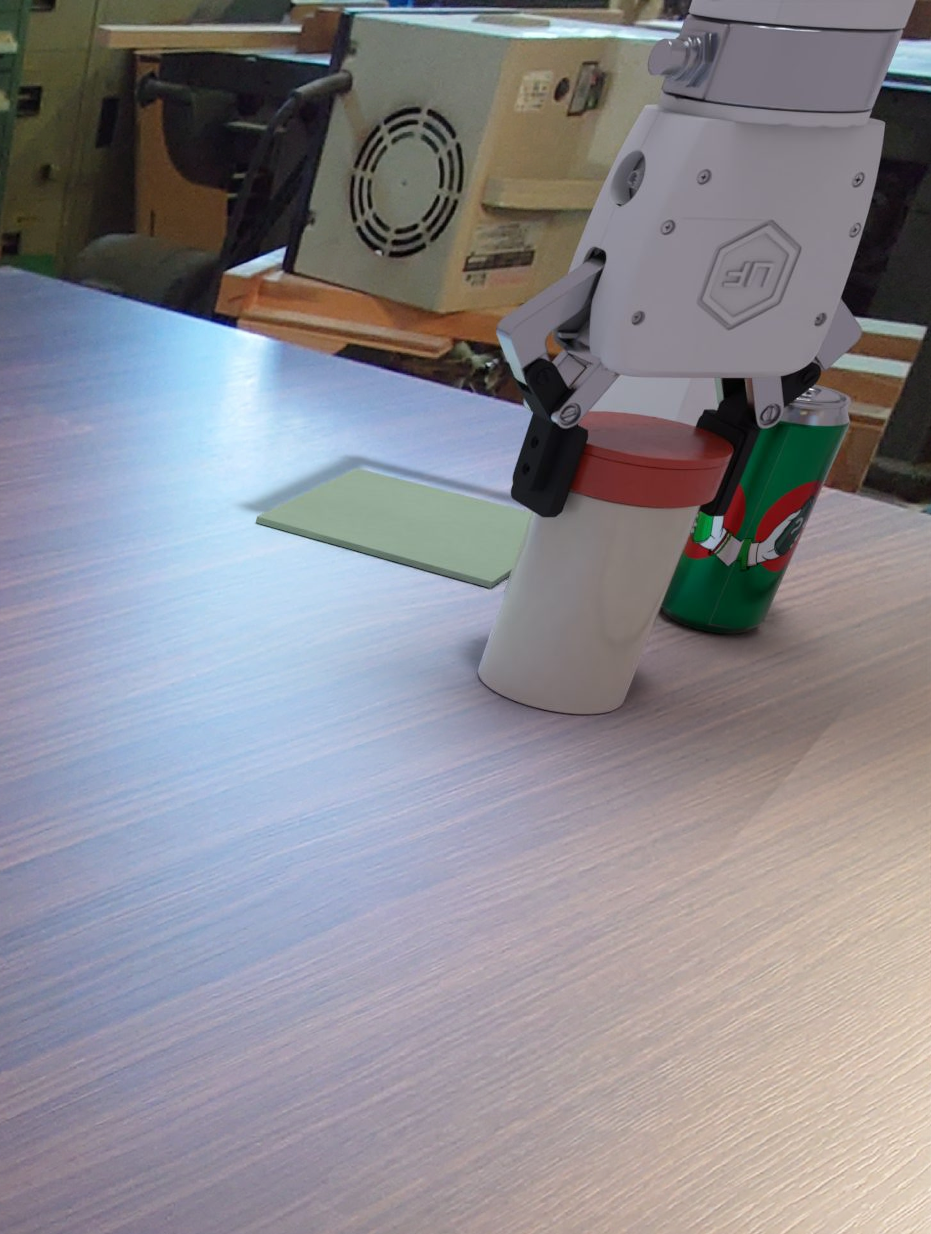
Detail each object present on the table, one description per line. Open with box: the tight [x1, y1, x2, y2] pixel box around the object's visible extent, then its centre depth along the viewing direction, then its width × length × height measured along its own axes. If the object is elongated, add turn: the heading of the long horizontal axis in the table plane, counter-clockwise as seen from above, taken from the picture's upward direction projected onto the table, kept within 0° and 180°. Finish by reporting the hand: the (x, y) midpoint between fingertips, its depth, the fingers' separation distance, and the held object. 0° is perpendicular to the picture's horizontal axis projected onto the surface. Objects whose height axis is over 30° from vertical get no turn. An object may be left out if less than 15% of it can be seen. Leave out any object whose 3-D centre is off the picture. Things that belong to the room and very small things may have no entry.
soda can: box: [661, 384, 852, 635], centre depth 87 cm, size 5×5×12 cm
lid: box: [570, 411, 734, 508], centre depth 76 cm, size 7×7×2 cm
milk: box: [589, 375, 718, 427], centre depth 100 cm, size 6×6×22 cm
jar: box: [477, 490, 701, 715], centre depth 79 cm, size 7×7×12 cm
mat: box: [255, 467, 531, 589], centre depth 101 cm, size 14×14×1 cm
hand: (616, 504), depth 77 cm, fingers closed on lid, 7 cm apart
